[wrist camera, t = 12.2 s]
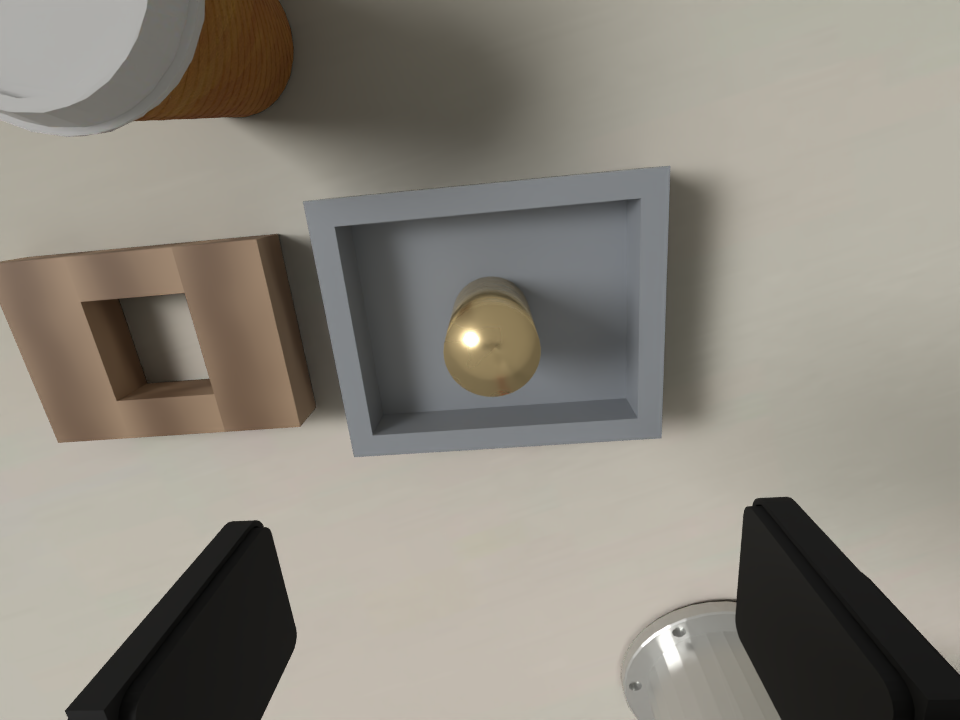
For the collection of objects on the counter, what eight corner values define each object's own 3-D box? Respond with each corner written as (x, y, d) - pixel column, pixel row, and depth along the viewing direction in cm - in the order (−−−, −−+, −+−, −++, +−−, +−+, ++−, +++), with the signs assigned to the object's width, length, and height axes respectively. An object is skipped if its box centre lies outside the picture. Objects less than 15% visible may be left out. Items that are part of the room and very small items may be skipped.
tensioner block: (277, 233, 26) (256, 239, 24) (316, 407, 30) (300, 426, 27) (28, 257, 27) (-17, 264, 25) (92, 422, 31) (58, 442, 28)
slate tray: (647, 167, 25) (670, 165, 21) (643, 408, 29) (661, 438, 26) (328, 198, 26) (302, 201, 22) (370, 426, 30) (354, 457, 27)
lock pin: (526, 272, 26) (537, 300, 20) (532, 346, 27) (543, 392, 21) (448, 280, 26) (437, 310, 20) (457, 354, 27) (450, 401, 21)
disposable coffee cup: (125, -111, 22) (-282, -425, 10) (342, -49, 22) (179, -284, 11) (124, 125, 25) (-188, 81, 14) (314, 175, 25) (164, 172, 14)
